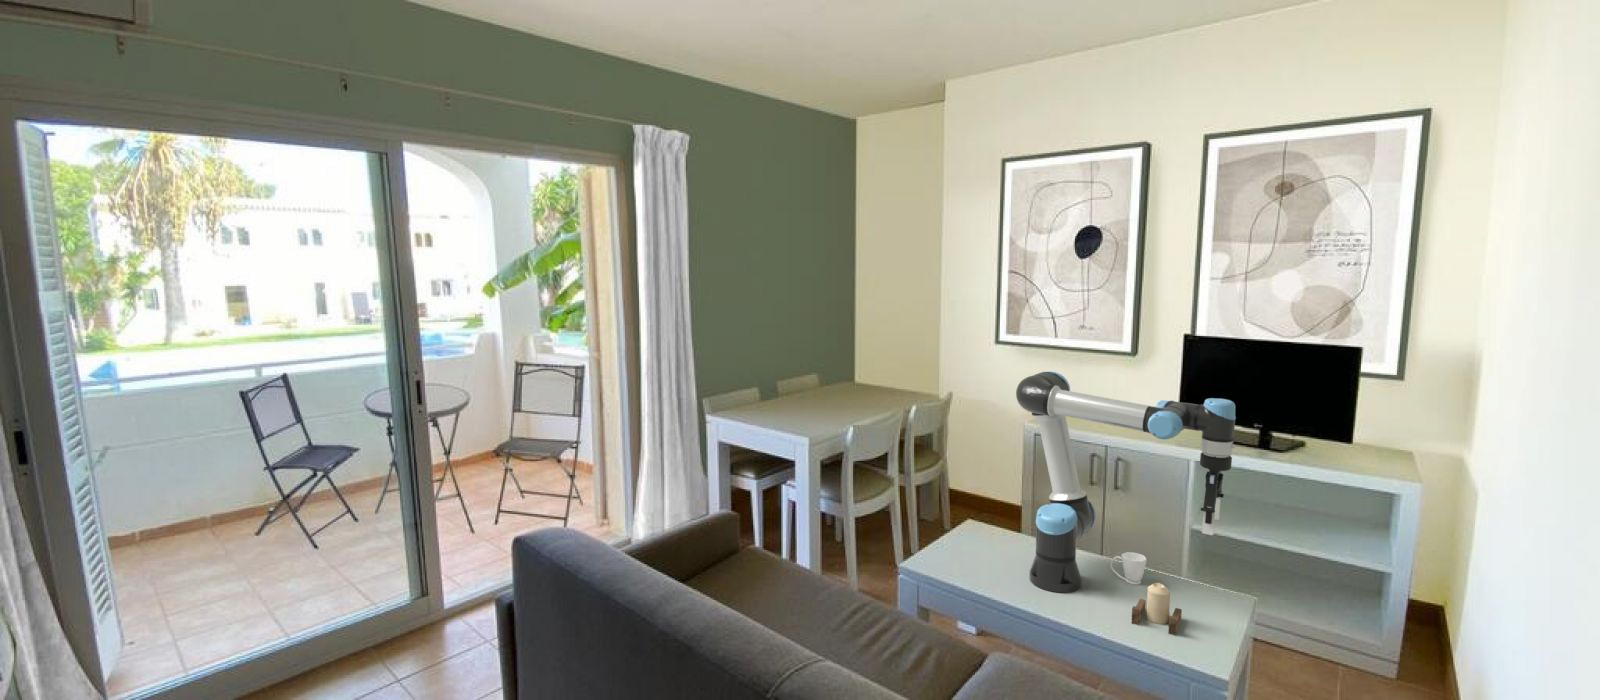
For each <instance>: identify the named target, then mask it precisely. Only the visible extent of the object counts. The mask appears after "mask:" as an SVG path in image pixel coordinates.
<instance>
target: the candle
mask: <svg viewBox="0 0 1600 700" xmlns="http://www.w3.org/2000/svg"><path fill="white" fill-rule="evenodd" d="M1146 596H1147V597H1146V598H1147V599H1146V618H1147V620H1148V621H1149V622H1152V623H1153V624H1159V625H1167V624H1169V617H1170V606H1171V605H1170V604H1171V603H1170V602H1171V590H1170V589H1168V588H1167V586H1165V585H1164V584H1162V583H1160V582H1154V583H1152V584H1151V585H1149V586H1148V587H1147V595H1146Z"/></svg>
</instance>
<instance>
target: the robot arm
mask: <svg viewBox="0 0 1600 700" xmlns="http://www.w3.org/2000/svg"><path fill="white" fill-rule="evenodd" d="M1015 395H1016V400H1017V403H1018V404H1019V405H1020V407H1021V408H1022V409H1024V410H1025V411H1027V412H1029V413H1031V416H1032V417H1033V418H1034V419H1036V420H1037V421H1038V426H1039V427H1038V428H1039V432H1040V436H1041V442H1042V446H1043V452H1044V456H1045V461H1046V465H1047V471H1048V476H1049V480H1050V485H1051V490H1052V492H1051V493H1050V494H1049V496H1048V500H1049V504H1048V503H1047V504H1044V505H1042V506H1040V507H1039V508H1038V509H1037V512H1036V517H1035V556H1034V558H1033V561H1032V564H1031V566H1030V569H1029V581H1030V582H1031V583H1032V585H1034V586H1035V587H1037V588H1040V589H1042V590H1045V591H1049V592H1052V593H1053V592H1055V593H1070V592H1075V591H1077V590H1079V589H1080V588H1081V586H1082V576H1081V573H1080V570H1079V566H1078V563H1077V561H1076V560H1077V559H1076V557H1077V556H1076V554H1077V541H1078V540H1079V539H1080V538H1082V537H1083V536H1084V535H1085V534H1088V533H1089V531H1091V529H1092V528H1093V527H1094V524H1095V522H1096V518H1097V512H1096V509H1095V507H1094V505H1093V503H1092V502H1091V501H1089V499H1088V496H1087V495H1088V494H1087V492H1086V491H1085V490H1084V489H1082V488H1081V485H1080V480H1079V476H1078V471H1077V466H1076V460H1075V457H1074V451H1073V447H1072V442H1071V437H1070V432H1069V428H1068V422H1067V417H1069V418H1073V419H1074V418H1075V419H1080V420H1083V421H1084V420H1085V421H1090V422H1094V423H1098V424H1104V425H1109V426H1113V427H1114V426H1115V427H1117V428H1123V429H1128V430H1132V431H1137V432H1142V433H1147V434H1151V435H1152V436H1153V437H1155V438H1156V439H1159V440H1170V439H1173V438H1174V437H1176V436H1178V435H1180V433H1181V432H1182V431H1184V430H1191V431H1197V432H1201V433H1202V434H1201V440H1200V441H1201V442H1200V451H1201V453H1200V459H1199V466H1201V467H1202V468H1204V469H1206V470H1209V471H1207V472H1206V474H1205V485H1204V486H1205V492H1204V499H1203V507H1200V512H1202V513H1203V514H1202V516H1203V517H1202V524H1201V525H1202V526H1201V528H1202V529H1201V534H1204V535H1209V536H1214V532H1215V522H1216V521H1220V511H1221V510H1220V508H1221V501H1222V500H1221V499H1223V498H1224V495H1225V494H1224V493H1223V491H1222V490H1223V488H1222V484H1223V480H1224V473H1223V472H1226V471H1230V470H1231V469H1232V464H1233V463H1232V461H1233V460H1232V459H1233V457H1232V455H1233V449H1235V448H1236V445H1235V444H1233V443H1234V436H1235V429H1236V428H1235V425H1236V419H1237V417H1236V404H1235V402H1234V401H1232V400H1230V399H1226V398H1214V397H1210V398H1206V399H1205V400H1204V402H1203V404H1197V403H1196V404H1195V403H1191V402H1180V401H1174V400H1159V401H1158V402H1157V403H1156V406H1153V405H1152V406H1151V405H1146V404H1141V403H1136V402H1131V401H1126V400H1119V399H1114V398H1108V397H1105V396H1104V397H1103V396H1097V395H1092V394H1087V393H1081V392H1075V391H1071V386H1070V384H1069V381H1068V380H1067V379H1066V377H1065V376H1063V374H1061V373H1059V372H1057V371H1051V370H1050V371H1041V372H1038V373H1036V374H1033V375H1030V376H1026V377H1024V378H1023V379H1022V380H1021V381H1020V382H1019V384H1017V387H1016V391H1015ZM1215 520H1216V521H1215Z"/></svg>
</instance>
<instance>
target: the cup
mask: <svg viewBox="0 0 1600 700" xmlns="http://www.w3.org/2000/svg"><path fill="white" fill-rule="evenodd" d="M1115 559H1119V560H1122V567H1123V572H1124V575H1125V577H1124V576H1122V575H1120V573H1118V572H1117V571H1116V570H1115V569H1114V567H1113V561H1114V560H1115ZM1146 564H1147V558H1146V556H1145V554H1141V553H1138V552H1132V551H1126V552H1124V553H1121V556H1120V555H1119V556H1118V555H1116V556H1114V557H1113V558H1112V559H1111V562H1110V569H1111V571H1112V572H1113V573H1114V574H1115V575H1116V576H1117V577H1118V578H1120V579H1122V580H1124V581H1125V582H1127V583H1128V584H1132V585H1140V584H1141V583H1142V579H1143V576H1144V573H1145V569H1146Z"/></svg>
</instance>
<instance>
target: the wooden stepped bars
mask: <svg viewBox="0 0 1600 700" xmlns="http://www.w3.org/2000/svg"><path fill="white" fill-rule="evenodd" d="M1146 609H1147V599H1143V598H1139V599H1138V602H1137V603H1136V604H1135V605H1133V606H1132V609H1131V624H1132V625H1136V626H1138V625H1139V623H1140V622H1141V619H1142V617H1143V615H1144V613H1145V611H1146ZM1182 611H1183V609H1182V608H1178V607H1175V608H1174V611H1173V612H1172V615H1169V622H1168V635H1173V636H1175V635H1176V633H1177V631H1178V628H1179V626H1180V623H1181V621H1182V615H1183V614H1182Z"/></svg>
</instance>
